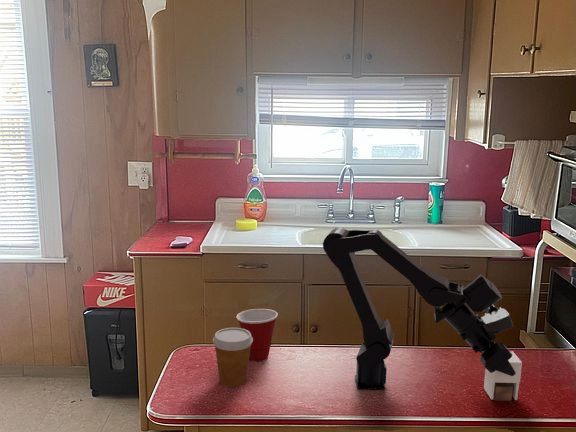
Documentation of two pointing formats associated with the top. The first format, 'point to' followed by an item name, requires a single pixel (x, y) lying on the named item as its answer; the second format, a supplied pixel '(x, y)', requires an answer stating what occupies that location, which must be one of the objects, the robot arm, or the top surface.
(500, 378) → the white notched block
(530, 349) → the top surface
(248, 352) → the disposable coffee cup
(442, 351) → the top surface
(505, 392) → the walnut block
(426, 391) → the top surface
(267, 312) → the plastic cup
